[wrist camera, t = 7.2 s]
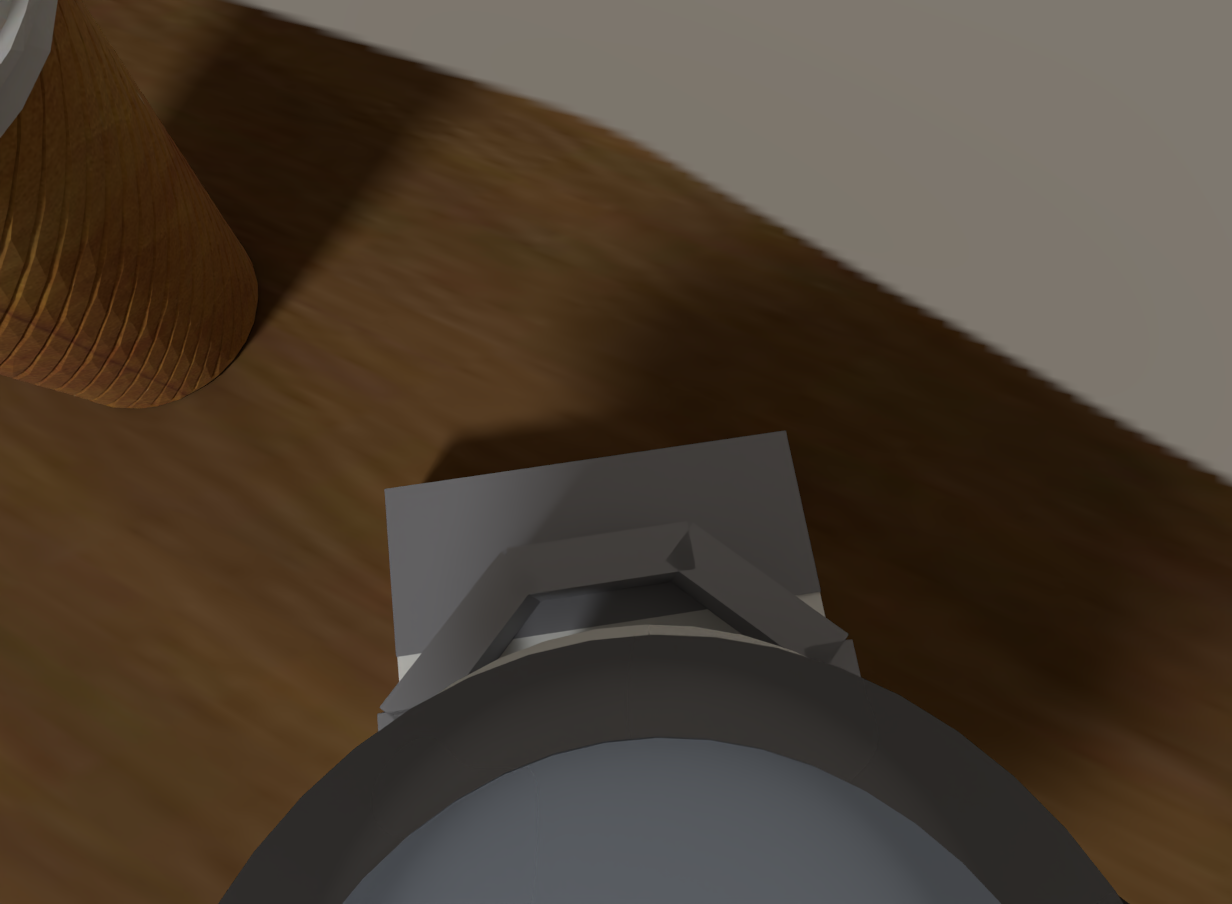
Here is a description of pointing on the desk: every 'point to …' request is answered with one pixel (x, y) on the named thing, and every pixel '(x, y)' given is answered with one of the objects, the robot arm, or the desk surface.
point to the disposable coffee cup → (105, 227)
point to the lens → (667, 792)
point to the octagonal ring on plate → (602, 558)
